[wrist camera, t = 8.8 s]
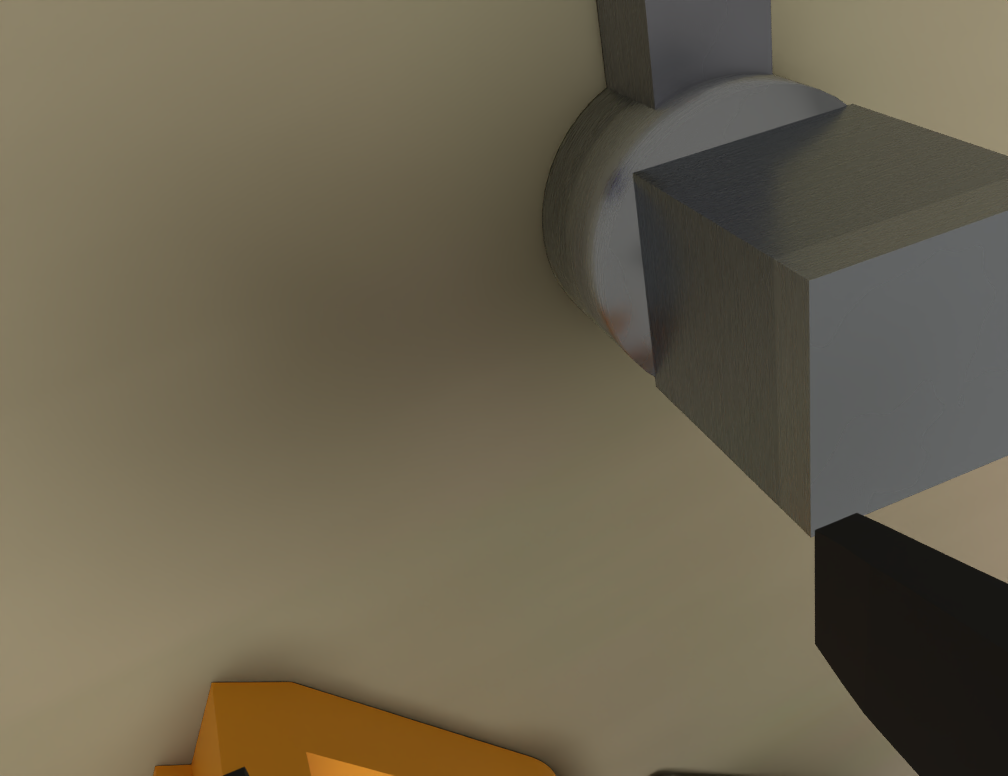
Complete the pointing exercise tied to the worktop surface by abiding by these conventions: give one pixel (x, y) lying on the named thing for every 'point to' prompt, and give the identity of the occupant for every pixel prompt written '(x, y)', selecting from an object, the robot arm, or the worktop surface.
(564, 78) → the worktop surface
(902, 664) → the robot arm
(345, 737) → the bracket
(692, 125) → the ratchet
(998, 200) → the grey brushed cube
